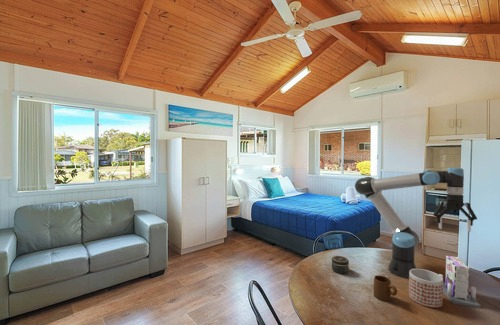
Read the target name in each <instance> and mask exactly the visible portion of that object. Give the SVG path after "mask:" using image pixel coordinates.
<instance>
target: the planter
mask: <svg viewBox="0 0 500 325" xmlns="http://www.w3.org/2000/svg"><path fill="white" fill-rule="evenodd" d="M443 282H444V277H443V278H442V277H441V276H440V275H439V273H436V272H434V271H431V270H429V269H423V268H416V269H411V270H410V271H409V278H408V296H409V298H410V299H411V300H412V301H413V302H415V303H417V304H419V305H422V306H424V307H428V308H431V309H433V308H434V309H437V308H440V307H442V306H443V300H444V299H443V297H444V296H443V295H444V293H443Z"/></svg>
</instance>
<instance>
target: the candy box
mask: <svg viewBox="0 0 500 325" xmlns="http://www.w3.org/2000/svg"><path fill="white" fill-rule="evenodd" d="M469 278H470V267H469V266H467V264H466V263H464V261H463V260H462V259H461V258H460V257H458V256H452V255H445V281H444V282H445V285H446V286H447V288H448V283H450V284H452V295H453V297H455V298H459V299H464V300H468V294H469Z"/></svg>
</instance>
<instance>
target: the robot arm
mask: <svg viewBox="0 0 500 325" xmlns="http://www.w3.org/2000/svg"><path fill="white" fill-rule="evenodd" d="M464 171H465V170H464V169H463V168H461V167H447V169H446V170H430V169H429V170H423V171H422V172H418V173H411V174H403V175H398V176H390V177H389V176H388V177H384V178H383V177H382V178H378V179H377V178H374V177H370V176H366V177H361V178H359V179H357V181H355V183H354V188H355V191H356V192H357V193H358V194H359V195H363V196H364V197H365V199H367V200H370V201H371V202H372V204H373V205H374V207H375V208H376V209H377V211H378V212H379V214H380V215H381V217H382V218H383V220H384V221H385V222H386V224H387V225H388V227H389V229H391V235H392V240H391V242H392V246H391V247H392V248H391V259H390V262H389V264H388V271H389V273H391V274H393V275H395V276H397V277H400V278H406V279H409V271H410V270H411V269H417V267H416V264H415V253H416V252H415V251H416V249H417V248H418V246H419V244H420V237H419V235H418V234H417V232H416V231H414V230H412V229H411V228H410V226H409V225H407V224H405V223H404V221H402V219H401V218H400V217H399V215H398V214H397V213H396V211H395V209H394V208H393V207H392V205H391V204H390V202H388V200H387V199H386V198H385V196H384V195H383V194H382V192H383V191H387V190H396V189H397V190H398V189H404V188H405V189H407V188H413V187H414V188H415V187H423V186H435V185H437V184H446V193H447V194H446V201H441V200H440V201H439V205H438V206H437V208H436V209H435V211H434V212H433V214H432V215H433V217H435V218H436V223H437V224H438V229H440V230H442V229H443V218H442V217H443V216H444V215H445V214H446V213H447V212H449V211H450V210H452V211H454V210H456V211H461V212H462V214H463V215H464V216H465V217H467V219H466V231H467V232H469V233H470V232H471V231H472V230H471V229H472V228H471V227H472V226H474V221H475V220H478V218H477V216H476V214H475V212H474V210H473V209H472V207H471V203H470V202H464V182H465V178H464V175H465V172H464ZM444 206H445V207H444ZM464 206H465V207H466V209H467V211H468V212H469V213H468V212H467V211H466V210H465V209H464V208H463V207H464Z"/></svg>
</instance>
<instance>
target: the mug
mask: <svg viewBox="0 0 500 325" xmlns="http://www.w3.org/2000/svg"><path fill="white" fill-rule="evenodd" d="M391 289H392V290H393V291H391ZM397 294H398V290H397V288H396V286H395V285H393V284H391V279H390V278H389V277H386V276H384V275H374V277H373V296H374V297H375V298H376V299H378V300H379V301H383V302H384V301H385V302H389V301H390V299H391V297H395V296H397Z"/></svg>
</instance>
